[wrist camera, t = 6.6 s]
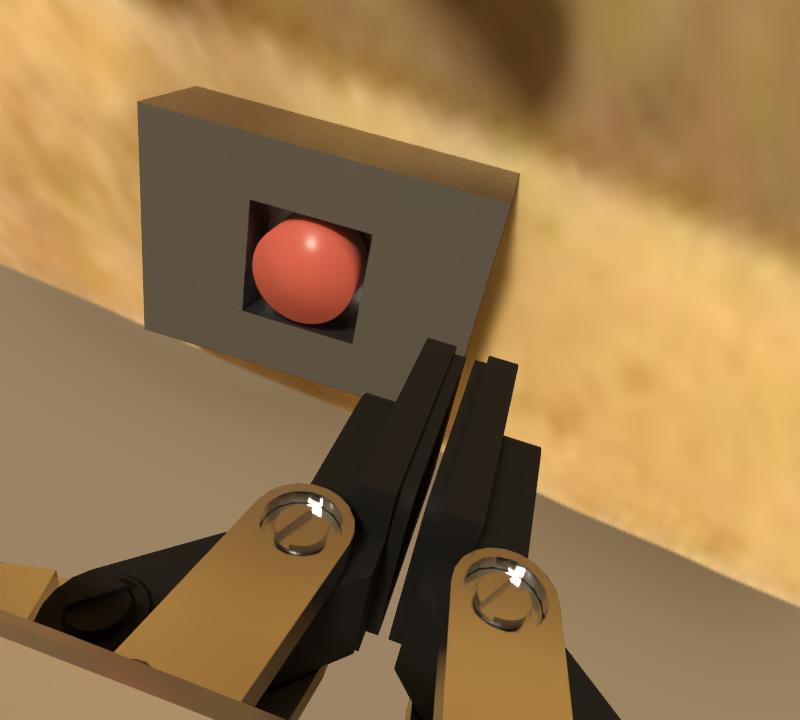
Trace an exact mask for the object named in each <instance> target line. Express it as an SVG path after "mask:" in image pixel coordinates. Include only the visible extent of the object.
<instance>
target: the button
mask: <svg viewBox="0 0 800 720" xmlns="http://www.w3.org/2000/svg"><path fill="white" fill-rule="evenodd" d="M367 263H368V256H367V251H366V247H365V245H364V242H363V240H362V238H361V236H360V235H359V233H358V232H357V230H355V229H352V228H348V227H345V226H341V225H338V224H334V223H331V222H327V221H324V220H320V219H317V218H313V217H310V216H306V215H303V214H299V213H296V212H294V213H293V214H291V215H289V216H288V217H287V218H286V219H284V220H283V221H282V222H281V223H279V224H278V225H277V226H276V227H274V228H273V229H272V230H271V231H269V232H268V233H267V234H266V235H265V236H264V237H263V238H262V239H261V240H260V242H259V243H258V245H257V247H256V249H255V252H254V255H253V262H252V268H253V275H254V279H255V282H256V285H257V288H258V289H259V291H260V293H261V295H262V296H263V298H264V299H265V300H266V302H267V303H268V304H269V305H270V306H271V307H272V308H273V309H274V310H276V311H277V312H278V313H280V314H281V315H283V316H284V317H286V318H288V319H291V320H293V321H296V322H300V323H305V324H319V323H324V322H327V321H330V320H332V319H334V318H335V317H337V316H338V315H339V314H340V313H342V312H343V310H344V309H345V308H346V307H347V305H348V304H349V302H350V301H351V300H352V298H353V297H354V295H355V294H356V293H357V291H358V290H359V288H360V287H361V285H362V284H363V282H364V279H365V274H366V268H367Z"/></svg>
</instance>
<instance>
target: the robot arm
mask: <svg viewBox="0 0 800 720" xmlns="http://www.w3.org/2000/svg"><path fill="white" fill-rule="evenodd" d="M456 349H457V346H455V345H451V344H448V343H444V342H441V341H438V340H434V339H431V338H427V340H426V342H425V344H424V346H423V348H422V350H421V352H420V354H419V356H418V358H417V360H416V362H415V364H414V366H413V368H412V370H411V372H410V374H409V376H408V378H407V380H406V382H405V384H404V386H403V388H402V390H401V392H400V394H399V396H398V398H397V400H396V402H395V401H392V400H389V399H385V398H382V397H379V396H376V395H373V394H369V393H365V394H364V395H363V396H362V397H361V399H360V401H359V402H358V404H357V406H356V407H355V409H354V411H353V413H352V414H351V416H350V418H349V419H348V421H347V423H346V425H345V426H344V428H343V430H342V432H341V433H340V435H339V436H338V438H337V440H336V442H335V443H334V445H333V447H332V448H331V450H330V452H329V453H328V455H327V457H326V459H325V460H324V462H323V464H322V465H321V467H320V469H319V471H318V472H317V474H316V476H315V477H314V479H313V481H312V482H311V484H301V483H296V484H289V485H283V486H280V487H278V488H275V489H273V490H270V491H268V492H267V493H266V494H264V495H263V496H262V497H260V498H259V499H258V500H257V501H256V502H255V503H254V504H253V505H252V506H251V507H250V508H249V509H248V510H247V511H246V513H245V514H244V515H243V516H242V517H241V518H240V519H239V520H238V521H237V522H236V523H235V524H234V525H233V526H232V527H231V528H230V530H229V531H228V532H224V533H221V534H217V535H213V536H210V537H207V538H203V539H199V540H196V541H192V542H189V543H185V544H181V545H178V546H174V547H171V548H167V549H164V550H160V551H157V552H153V553H149V554H146V555H142V556H139V557H135V558H132V559H128V560H124V561H121V562H118V563H114V564H110V565H107V566H103V567H100V568H96V569H92V570H90V571H87V572H85V573H82V574H80V575H78V576H75V577H73V578H71V579H62V578H58V576H57V571H56V570H53V569H46V568H39V567H31V566H23V565H16V564H9V563H2V562H0V720H298V719H299V718H300V716H301V714H302V713H303V711H304V709H305V707H306V706H307V704H308V702H309V701H310V699H311V697H312V696H313V694H314V692H315V691H316V689H317V687H318V685H319V684H320V682H321V680H322V679H323V676H324V674H325V671H326V669H327V666H328V664H330V663H332V662H334V661H337V660H339V659H342V658H344V657H346V656H349V655H351V654H353V653H354V650H356V651H359V648H360V646H361V643H362V640H363V637H364V634H365V632H366V631H367V632H370V633H373V634H375V635H378V634H379V631H380V628H381V626H382V623H383V620H384V617H385V614H386V610H387V608H388V605H389V602H390V599H391V596H392V593H393V591H394V587H395V585H396V582H397V579H398V576H399V573H400V570H401V567H402V564H403V561H404V559H405V556H406V553H407V550H408V547H409V544H410V541H411V538H412V535H413V532H414V529H415V527H416V524H417V521H418V518H419V515H420V512H421V509H422V506H423V503H424V500H425V497H426V494H427V491H428V489H429V486H430V483H431V479H432V476H433V473H434V470H435V466H436V463H437V459H438V456H439V452H440V449H441V445H442V442H443V438H444V434H445V431H446V427H447V424H448V420H449V417H450V413H451V410H452V406H453V402H454V399H455V395H456V392H457V388H458V385H459V381H460V377H461V374H462V370H463V367H464V363H465V359H466V357H464V356H460V355H457V354H455V353H456ZM517 370H518V364H515V363H512V362H508V361H505V360H502V359H498V358H495V357H492V356H489V358H488V361H487V363H484V362H480V361H477V360H475V362H474V365H473V368H472V371H471V374H470V377H469V380H468V383H467V386H466V389H465V392H464V395H463V398H462V401H461V404H460V407H459V410H458V413H457V416H456V419H455V421H454V424H453V427H452V430H451V433H450V436H449V439H448V442H447V445H446V448H445V451H444V454H443V457H442V460H441V463H440V466H439V469H438V472H437V475H436V478H435V481H434V484H433V487H432V490H431V493H430V496H429V499H428V503H427V506H426V509H425V512H424V516H423V519H422V522H421V526H420V529H419V533H418V537H417V540H416V543H415V547H414V550H413V554H412V558H411V562H410V565H409V568H408V572H407V575H406V579H405V582H404V586H403V589H402V593H401V596H400V600H399V603H398V607H397V611H396V614H395V618H394V621H393V625H392V628H391V632H390V636H389V640H392V641H395V642H397V643H400V644H402V645H401V648H400V651H399V655H398V658H397V661H396V664H395V668H394V669H395V671H396V673H397V675H398V677H399V679H400V681H401V682H402V684H403V686H404V688H405V690H406V692H407V694H408V696H409V697H410V699H409V702H408V706H407V710H406V718H405V720H621V719H620V718H619V717H618V715H617V714H616V713H615V712H614V710H613V709H612V708H611V706H610V705H609V704H608V702H607V701H606V700H605V698H604V697H603V696H602V694H601V693H600V692H599V691H598V689H597V688H596V687H595V685H594V684H593V683H592V681H591V680H590V679H589V677H588V676H587V675H586V674H585V672H584V671H583V670H582V668H581V667H580V666H579V664H578V663H577V662H576V661H575V659H574V658H573V657H572V655H571V654H570V653H569V651H568V650H567V649H566V648H565V643H564V634H563V625H562V616H561V608H560V602H559V599H558V595H557V592H556V589H555V587H554V586H553V584H552V582H551V581H550V579H549V577H548V576H547V575H546V574H545V573H544V572H543V571H542V570H541V569H540V568H539V567H538V566H537V565H536V564H535V563H533V562H532V561H530V560H529V559H528V553H529V545H530V537H531V529H532V521H533V513H534V505H535V497H536V489H537V481H538V473H539V465H540V457H541V448H540V447H538V446H535V445H532V444H529V443H526V442H523V441H519V440H516V439H513V438H510V437H507V436H503V435H504V430H505V426H506V421H507V416H508V412H509V407H510V403H511V398H512V393H513V389H514V384H515V379H516V375H517Z"/></svg>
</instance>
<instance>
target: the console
mask: <svg viewBox="0 0 800 720" xmlns="http://www.w3.org/2000/svg"><path fill="white" fill-rule="evenodd" d="M137 103H138V134H139V165H140V197H141V228H142V259H143V291H144V322H145V329H146V330H149V331H152V332H156V333H159V334H162V335H165V336H169V337H172V338H175V339H178V340H181V341H185V342H188V343H191V344H194V345H197V346H201V347H204V348H207V349H210V350H214V351H217V352H220V353H223V354H226V355H230V356H233V357H236V358H239V359H242V360H246V361H249V362H252V363H255V364H258V365H262V366H265V367H268V368H271V369H275V370H278V371H281V372H284V373H287V374H291V375H294V376H297V377H300V378H303V379H307V380H310V381H313V382H316V383H320V384H323V385H326V386H329V387H332V388H336V389H339V390H342V391H345V392H348V393H352V394H355V395H358V396H361V397H362V396H363V395H364V394H365V393H369V394H373V395H376V396H379V397H382V398H385V399H389V400H392V401H395V402H396V400H397V398H398V396H399V394H400V392H401V390H402V388H403V386H404V384H405V382H406V380H407V378H408V376H409V374H410V372H411V370H412V368H413V366H414V364H415V362H416V360H417V358H418V356H419V354H420V352H421V350H422V348H423V346H424V344H425V342H426V340H427V338H431V339H434V340H438V341H441V342H444V343H448V344H451V345H455V346H457V349H456V353H455V354H457V355H460V356H465V352H466V349H467V346H468V343H469V340H470V336H471V333H472V330H473V327H474V323H475V320H476V317H477V314H478V310H479V307H480V304H481V301H482V297H483V294H484V291H485V288H486V284H487V281H488V278H489V275H490V271H491V268H492V265H493V262H494V258H495V255H496V252H497V249H498V245H499V242H500V239H501V236H502V232H503V229H504V226H505V223H506V219H507V216H508V213H509V210H510V206H511V203H512V200H513V196H514V192H515V189H516V185H517V182H518V178H519V175H520V174H519V173H515V172H512V171H508V170H504V169H500V168H497V167H493V166H489V165H486V164H482V163H478V162H475V161H471V160H467V159H463V158H460V157H456V156H452V155H449V154H445V153H441V152H438V151H434V150H430V149H426V148H423V147H419V146H415V145H412V144H408V143H404V142H401V141H397V140H393V139H389V138H386V137H382V136H378V135H375V134H371V133H367V132H364V131H360V130H356V129H352V128H349V127H345V126H341V125H338V124H334V123H330V122H327V121H323V120H319V119H315V118H312V117H308V116H304V115H301V114H297V113H293V112H290V111H286V110H282V109H278V108H275V107H271V106H267V105H264V104H260V103H256V102H253V101H249V100H245V99H242V98H238V97H234V96H230V95H227V94H223V93H219V92H216V91H212V90H208V89H205V88H201V87H197V86H195V87H191V88H187V89H183V90H179V91H176V92H172V93H168V94H164V95H160V96H156V97H153V98H149V99H145V100H141V101H137ZM294 212H296V213H299V214H303V215H306V216H310V217H313V218H317V219H320V220H324V221H327V222H331V223H334V224H338V225H341V226H345V227H348V228H352V229H355V230H357V232H358V233H359V235H360V236H361V238H362V240H363V242H364V245H365V247H366V251H367V256H368V263H367V268H366V274H365V279H364V282H363V284H362V285H361V287H360V288H359V290H358V291H357V293H356V294H355V295H354V297H353V298H352V300H351V301H350V302H349V304H348V305H347V307H346V308H345V309H344V310H343V312H342V313H340V314H339V315H338V316H337V317H335V318H334V319H332V320H330V321H327V322H324V323H319V324H305V323H300V322H296V321H293V320H291V319H288V318H286V317H284V316H283V315H281V314H280V313H278V312H277V311H276V310H274V309H273V308H272V307H271V306H270V305H269V304H268V303H267V302H266V300H265V299H264V298H263V296H262V295H261V293H260V291H259V289H258V288H257V285H256V282H255V279H254V275H253V268H252V262H253V255H254V252H255V249H256V247H257V245H258V243H259V242H260V240H261V239H262V238H263V237H264V236H265V235H266V234H267V233H268V232H269V231H271V230H272V229H273V228H274V227H276V226H277V225H278V224H279V223H281V222H282V221H283V220H284V219H286V218H287V217H288V216H289V215H291V214H293V213H294Z"/></svg>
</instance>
